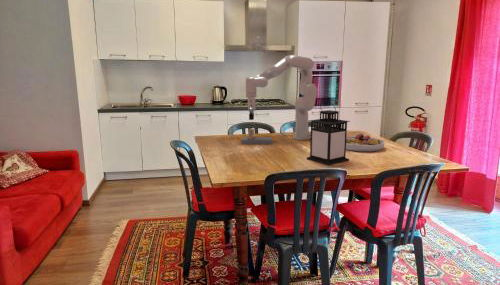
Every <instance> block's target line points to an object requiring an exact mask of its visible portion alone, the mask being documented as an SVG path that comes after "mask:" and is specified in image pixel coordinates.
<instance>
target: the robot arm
mask: <svg viewBox="0 0 500 285" xmlns="http://www.w3.org/2000/svg"><path fill="white" fill-rule="evenodd" d="M313 67H314V60H313V59H312V58H310V57H306V56H302V55H301V56H300V55H295V54H291V55H290V54H289V55H286V56H285V57H283V58H281V60H279V61H278V62H276V63H275V64H273V65H272V66H271V67H269V68H267V69H265V70H264V71H262V72H260V73H259V74H257V75H256V76H250V77H249V76H248V77H246V78H245V97H246V98H247V109H248V112H249V113H248V120H250V121H254V119H255V118H254V117H255V112H256V98H257V97H258V96H257V88H266V87H267V86H268V83H269V81H270V80H271V79H274V78H278V77H280V76H281V75H283V74H284V73H285V72H286V71H288V70H289V69H291V68H295V69H298V70H299V72H300V82H299V87H298V92H299V94H300V95H302V96H300V97H297V98H296V99H295V102H294V109H295V130H294V132H295V134H294V136H293V137H292V138H293V139H294V140H299V141H308V140H311V133H309V112H310V111H312V110H313V109H314V107H315V104H316V98H317V94H318V88H317V86H316V85H315V83H313V76H314V75H313V71H312V69H313Z"/></svg>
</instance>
